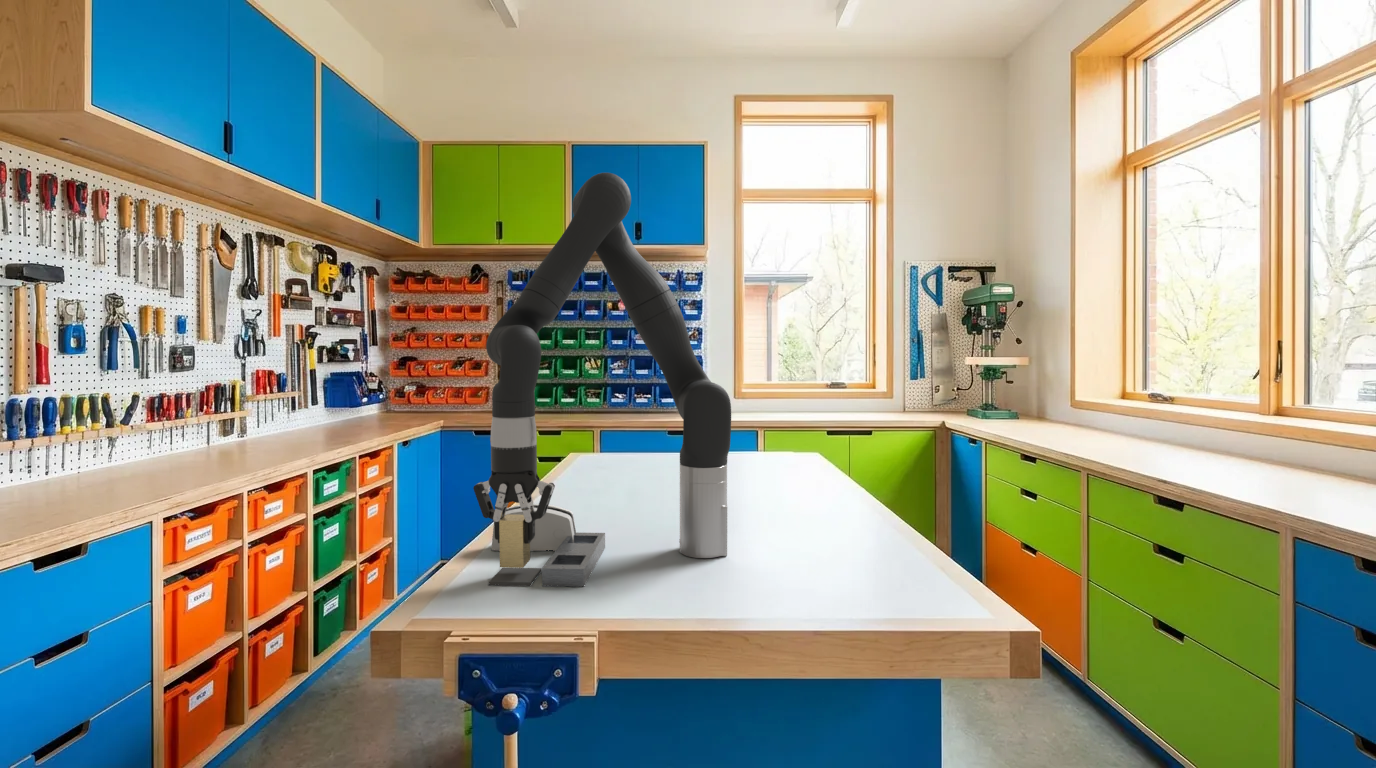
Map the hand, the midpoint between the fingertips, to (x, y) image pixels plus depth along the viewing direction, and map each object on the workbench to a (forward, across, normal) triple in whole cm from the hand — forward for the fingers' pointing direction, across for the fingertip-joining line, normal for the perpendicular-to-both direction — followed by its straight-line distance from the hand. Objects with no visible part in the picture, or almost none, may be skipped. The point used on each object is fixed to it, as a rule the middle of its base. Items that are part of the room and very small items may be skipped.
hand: (514, 541), depth 109 cm
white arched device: (+7, +1, -16) cm, 17 cm away
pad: (+6, 0, 0) cm, 6 cm away
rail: (+6, -9, -7) cm, 13 cm away
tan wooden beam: (+4, 0, 0) cm, 4 cm away
